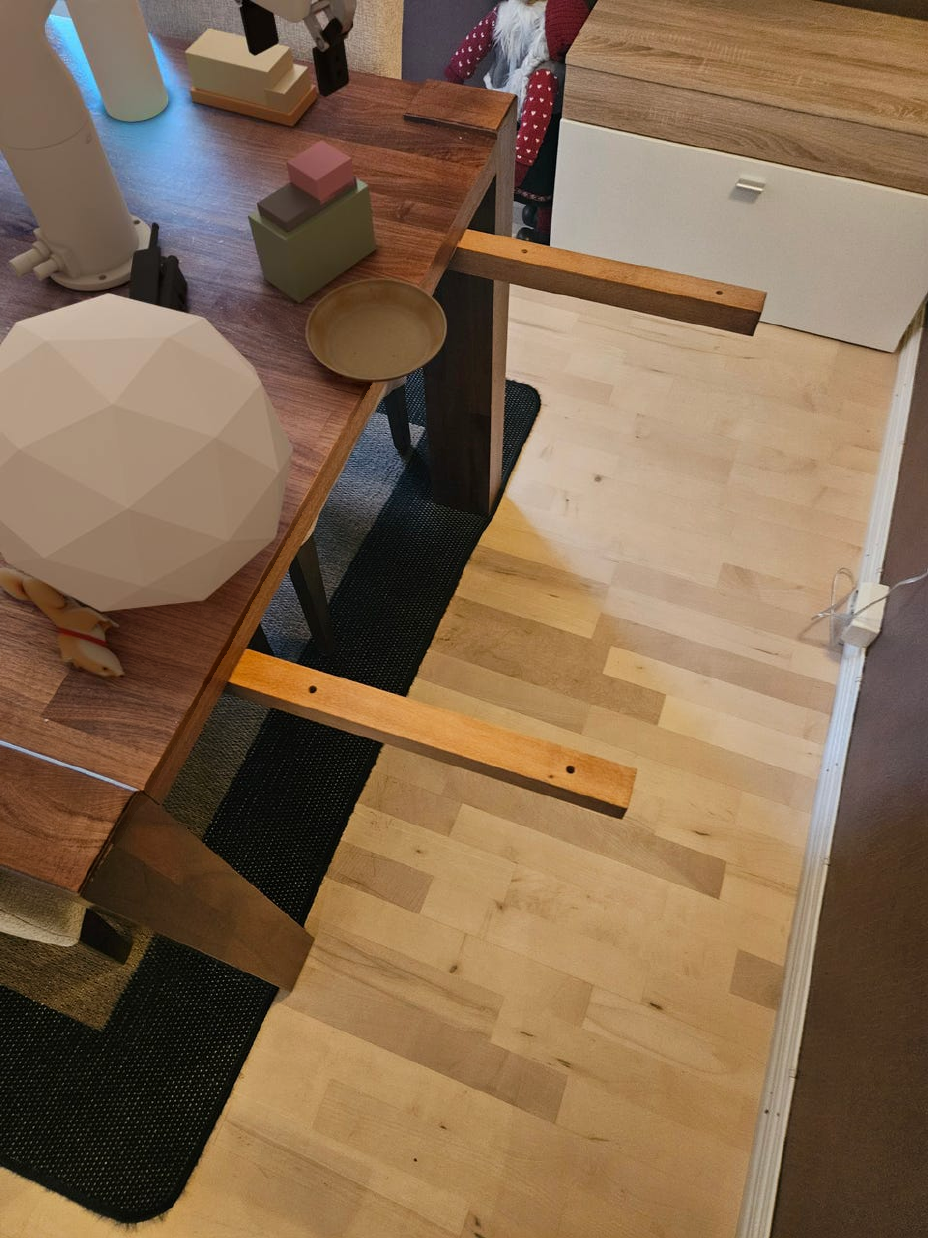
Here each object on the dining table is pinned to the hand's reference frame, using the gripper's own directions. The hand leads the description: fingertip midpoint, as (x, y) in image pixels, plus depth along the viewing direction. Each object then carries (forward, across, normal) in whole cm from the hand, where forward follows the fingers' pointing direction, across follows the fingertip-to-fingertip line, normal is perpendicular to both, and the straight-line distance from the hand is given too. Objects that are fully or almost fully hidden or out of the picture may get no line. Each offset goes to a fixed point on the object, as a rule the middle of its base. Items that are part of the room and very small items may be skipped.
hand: (298, 68), depth 77 cm
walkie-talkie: (+19, -2, -23) cm, 30 cm away
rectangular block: (+21, -1, -1) cm, 21 cm away
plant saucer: (+22, +13, -5) cm, 26 cm away
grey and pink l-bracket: (+13, -1, -1) cm, 13 cm away
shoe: (+21, -32, +15) cm, 41 cm away
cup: (+21, -42, +3) cm, 48 cm away
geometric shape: (+10, +7, -28) cm, 31 cm away
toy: (+19, +17, -45) cm, 52 cm away
